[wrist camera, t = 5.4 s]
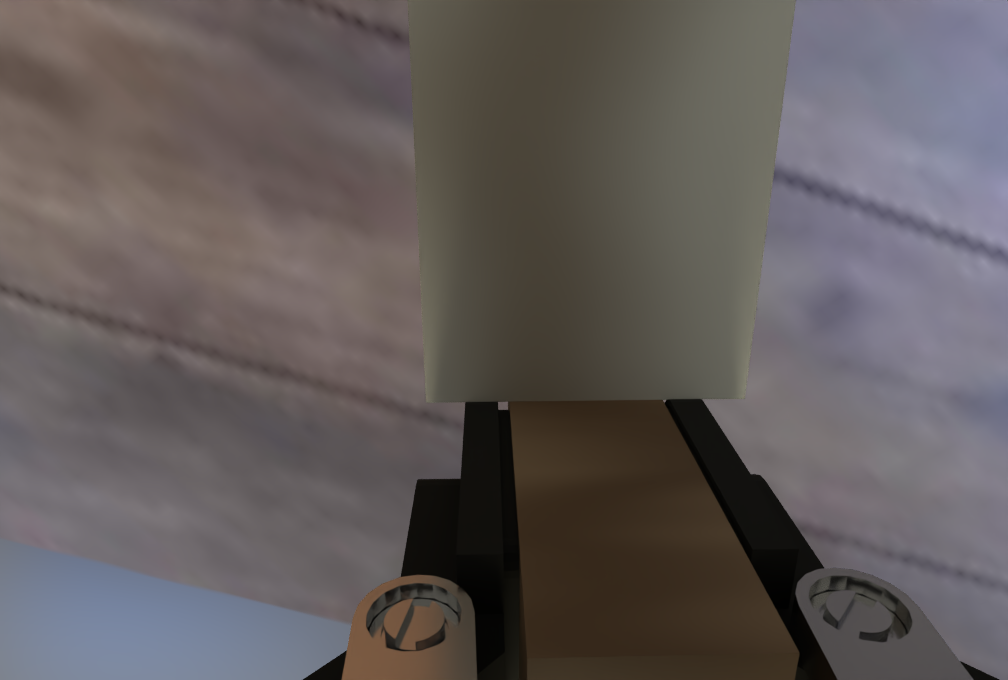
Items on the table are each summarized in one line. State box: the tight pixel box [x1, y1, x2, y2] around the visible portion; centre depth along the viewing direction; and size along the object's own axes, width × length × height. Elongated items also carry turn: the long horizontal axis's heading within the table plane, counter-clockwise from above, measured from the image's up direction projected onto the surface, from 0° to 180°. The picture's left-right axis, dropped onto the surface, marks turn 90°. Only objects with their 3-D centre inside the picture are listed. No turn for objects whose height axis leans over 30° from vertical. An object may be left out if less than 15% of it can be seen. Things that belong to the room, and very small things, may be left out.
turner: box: [408, 0, 800, 680], centre depth 8 cm, size 5×16×6 cm, turn 0°
